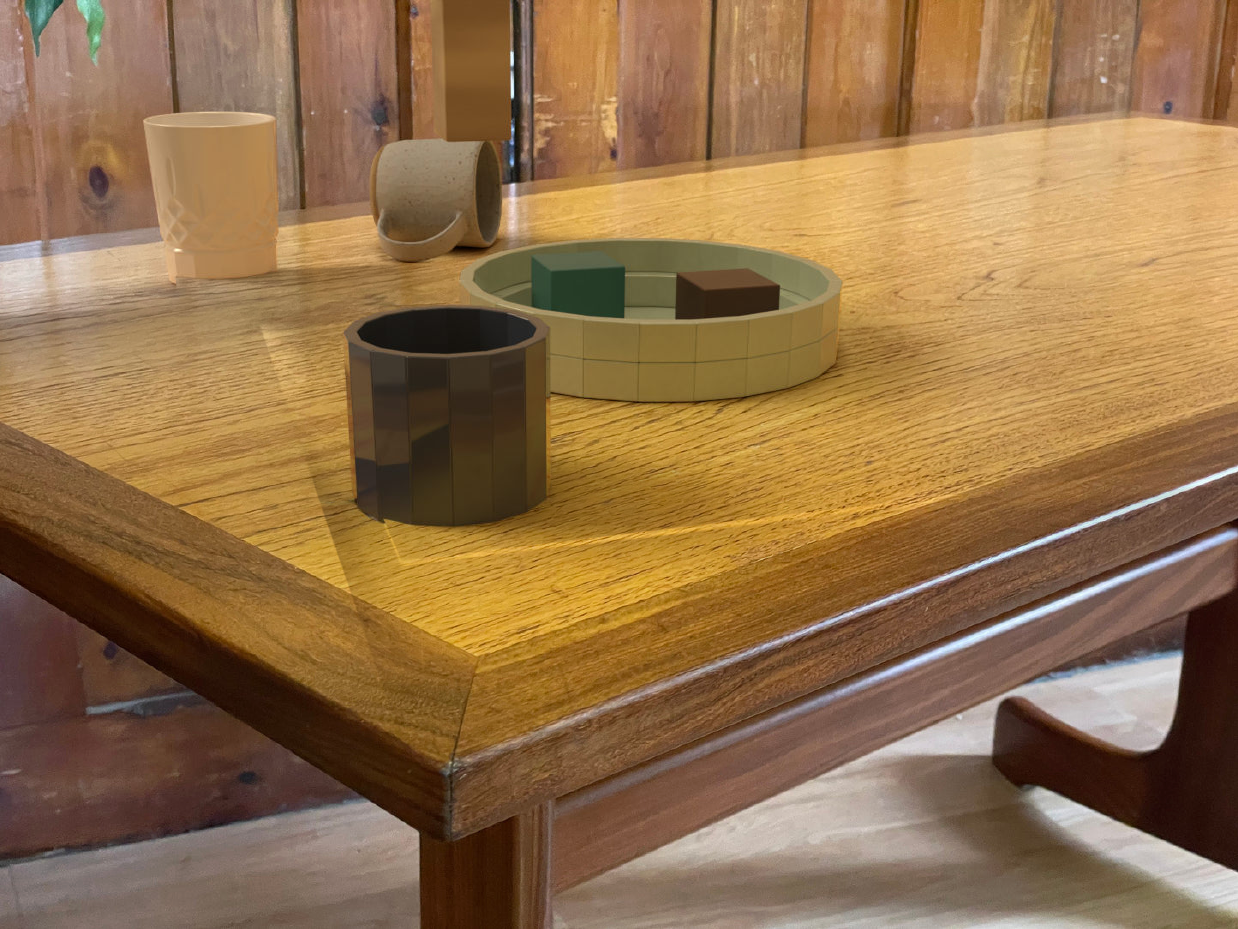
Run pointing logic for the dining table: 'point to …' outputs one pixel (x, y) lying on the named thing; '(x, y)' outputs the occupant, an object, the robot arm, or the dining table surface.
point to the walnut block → (724, 294)
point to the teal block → (578, 284)
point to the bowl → (674, 322)
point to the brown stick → (471, 69)
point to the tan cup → (215, 192)
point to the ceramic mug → (435, 197)
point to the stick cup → (448, 414)
